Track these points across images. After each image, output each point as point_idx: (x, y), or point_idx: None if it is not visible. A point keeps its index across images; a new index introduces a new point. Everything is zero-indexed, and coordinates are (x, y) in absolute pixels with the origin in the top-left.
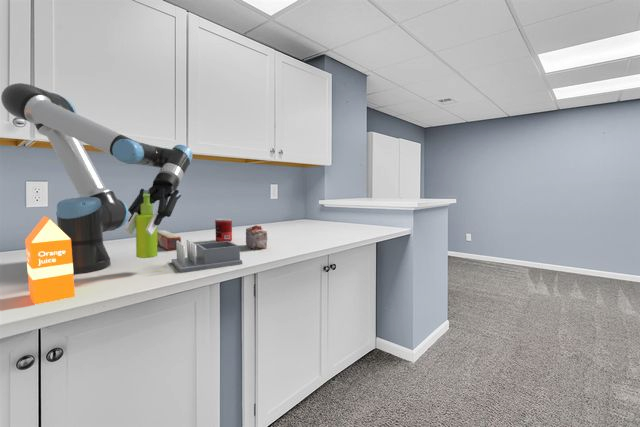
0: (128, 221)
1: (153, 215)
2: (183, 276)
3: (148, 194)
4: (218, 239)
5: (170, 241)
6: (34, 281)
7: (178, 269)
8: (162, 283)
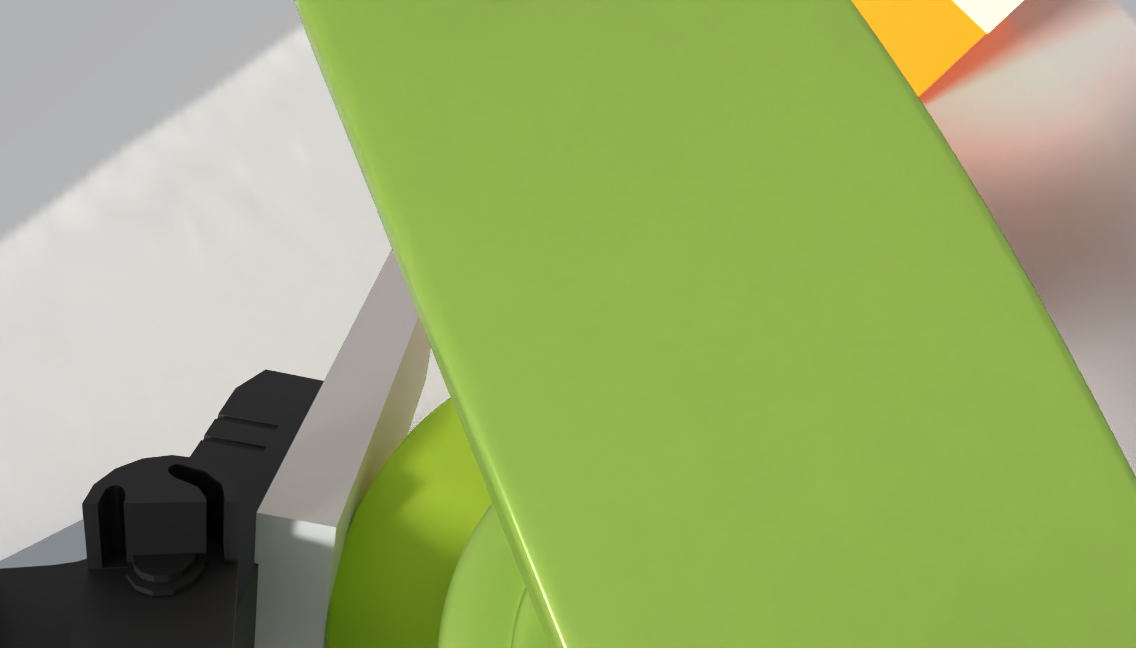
0: None
1: (353, 465)
2: (82, 364)
3: (446, 83)
4: None
5: None
6: None
7: None
8: (225, 167)
